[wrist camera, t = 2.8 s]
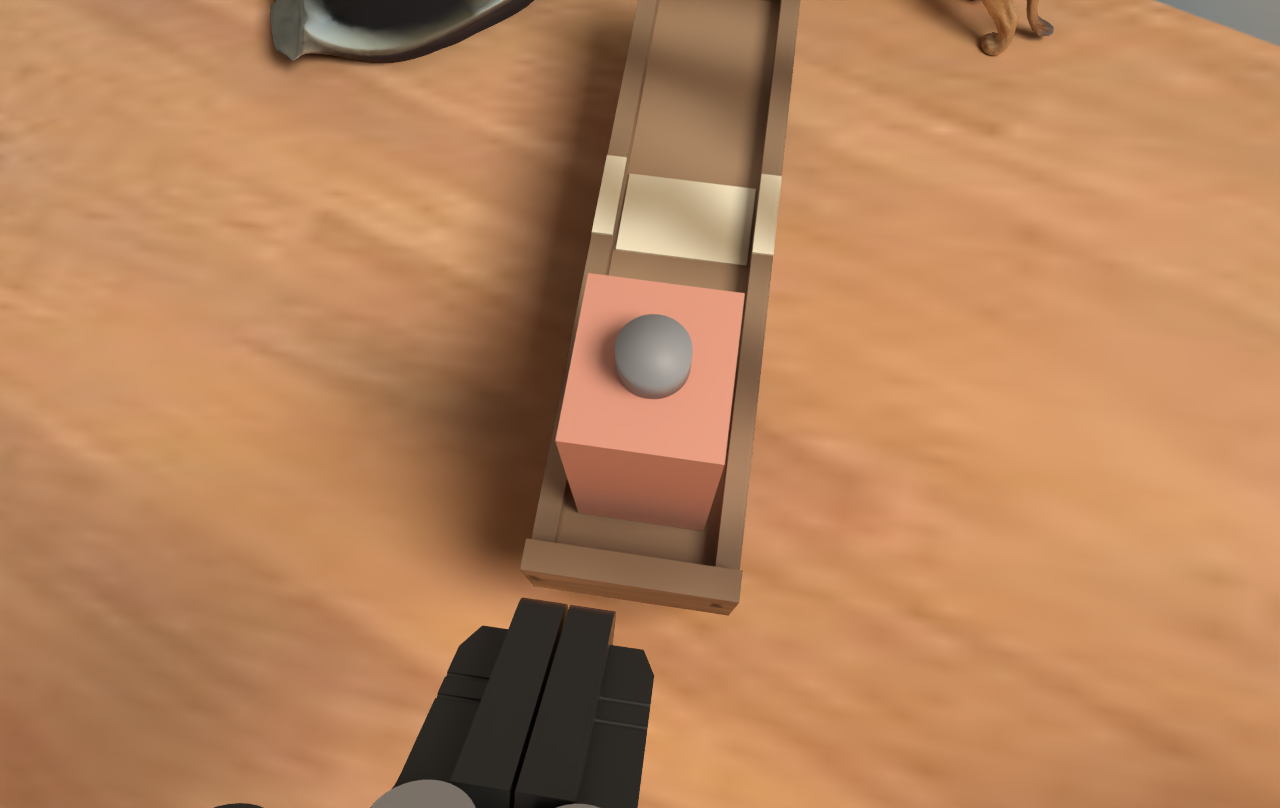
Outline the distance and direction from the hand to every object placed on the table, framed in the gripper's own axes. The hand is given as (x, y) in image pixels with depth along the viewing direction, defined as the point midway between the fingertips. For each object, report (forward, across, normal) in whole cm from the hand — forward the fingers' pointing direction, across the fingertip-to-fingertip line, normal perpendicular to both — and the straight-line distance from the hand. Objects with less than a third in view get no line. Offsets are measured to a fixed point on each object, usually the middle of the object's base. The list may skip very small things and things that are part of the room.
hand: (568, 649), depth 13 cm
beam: (+26, 0, -2) cm, 26 cm away
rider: (+16, 0, -5) cm, 17 cm away
